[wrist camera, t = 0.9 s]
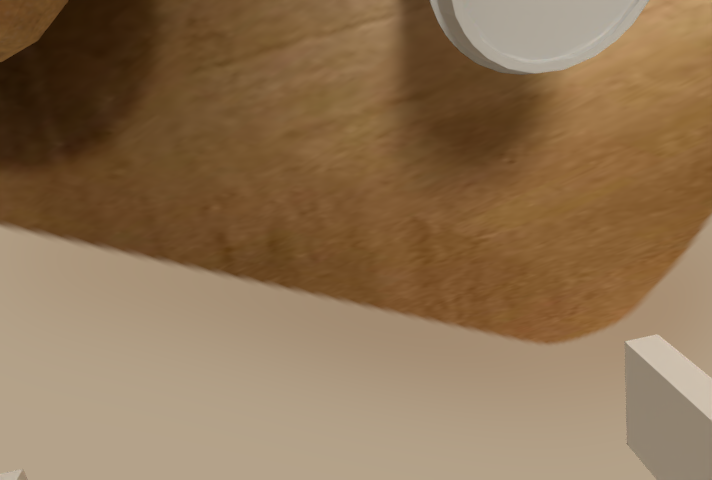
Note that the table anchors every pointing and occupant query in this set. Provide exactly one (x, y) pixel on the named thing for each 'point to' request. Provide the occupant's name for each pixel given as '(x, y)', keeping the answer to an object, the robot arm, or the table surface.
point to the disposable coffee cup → (534, 30)
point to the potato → (25, 23)
